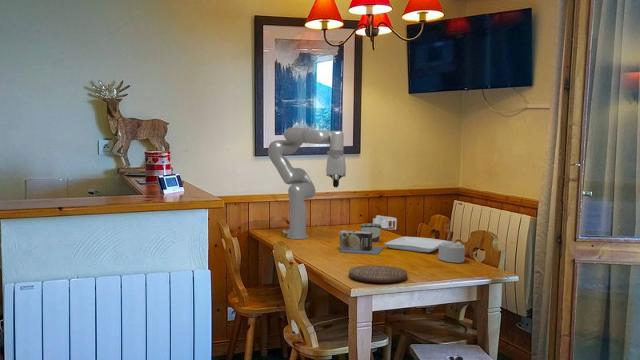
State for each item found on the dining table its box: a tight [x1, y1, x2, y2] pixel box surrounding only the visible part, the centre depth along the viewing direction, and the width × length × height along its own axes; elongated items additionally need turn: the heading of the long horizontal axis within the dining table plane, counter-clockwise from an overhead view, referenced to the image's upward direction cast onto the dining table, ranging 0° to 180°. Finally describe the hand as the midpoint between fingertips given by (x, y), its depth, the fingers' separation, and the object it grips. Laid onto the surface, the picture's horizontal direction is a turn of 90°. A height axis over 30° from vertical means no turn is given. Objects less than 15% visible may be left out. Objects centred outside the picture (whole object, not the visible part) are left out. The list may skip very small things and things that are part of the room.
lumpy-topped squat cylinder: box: [438, 240, 466, 264], centre depth 301 cm, size 10×13×9 cm
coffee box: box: [339, 229, 373, 251], centre depth 323 cm, size 9×6×16 cm
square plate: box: [384, 236, 449, 253], centre depth 333 cm, size 27×27×4 cm
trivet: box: [348, 264, 408, 284], centre depth 266 cm, size 25×25×2 cm
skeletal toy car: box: [372, 214, 398, 230], centre depth 400 cm, size 20×11×7 cm, turn 19°
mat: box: [338, 245, 385, 256], centre depth 323 cm, size 20×20×1 cm
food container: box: [359, 223, 383, 244], centre depth 349 cm, size 12×6×10 cm, turn 84°
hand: (335, 187), depth 340 cm, fingers closed
